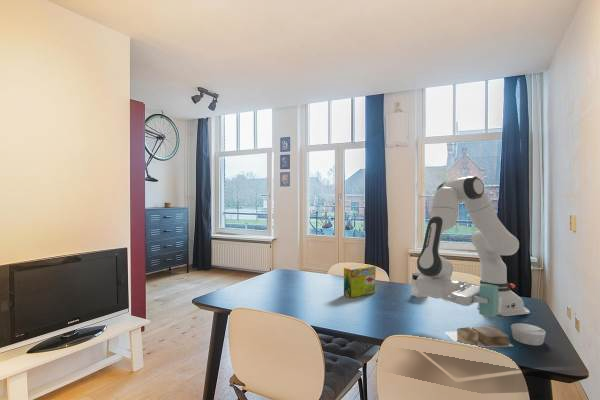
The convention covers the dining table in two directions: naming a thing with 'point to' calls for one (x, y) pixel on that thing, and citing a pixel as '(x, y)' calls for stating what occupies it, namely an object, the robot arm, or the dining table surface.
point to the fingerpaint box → (359, 280)
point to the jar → (414, 287)
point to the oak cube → (467, 336)
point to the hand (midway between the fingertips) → (491, 299)
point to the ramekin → (528, 334)
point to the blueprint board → (454, 337)
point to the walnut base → (491, 336)
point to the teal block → (492, 295)
